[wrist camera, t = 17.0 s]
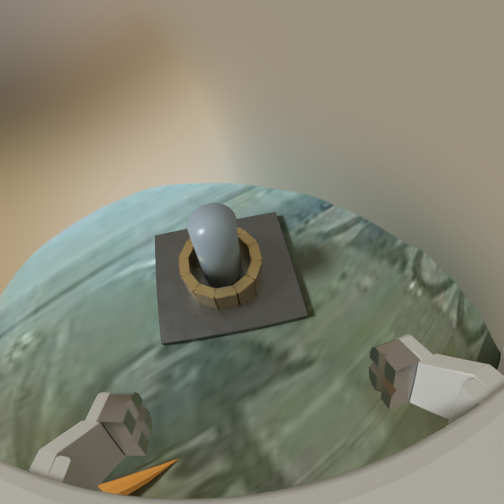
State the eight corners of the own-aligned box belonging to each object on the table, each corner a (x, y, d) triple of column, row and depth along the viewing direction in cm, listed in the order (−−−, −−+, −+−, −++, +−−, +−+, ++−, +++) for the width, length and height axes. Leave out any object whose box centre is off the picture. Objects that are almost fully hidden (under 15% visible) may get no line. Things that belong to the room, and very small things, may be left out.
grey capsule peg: (237, 249, 38) (231, 199, 30) (245, 282, 36) (240, 237, 27) (201, 256, 38) (185, 208, 29) (206, 289, 35) (189, 247, 27)
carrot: (83, 511, 20) (77, 526, 15) (61, 489, 20) (52, 503, 16) (189, 462, 27) (193, 478, 23) (167, 438, 27) (167, 452, 23)
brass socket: (252, 234, 39) (251, 218, 36) (268, 299, 34) (269, 287, 31) (183, 247, 39) (176, 233, 36) (190, 314, 34) (183, 304, 31)
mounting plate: (275, 216, 42) (275, 212, 41) (306, 317, 34) (307, 315, 33) (157, 239, 41) (155, 235, 40) (163, 345, 33) (161, 343, 32)
